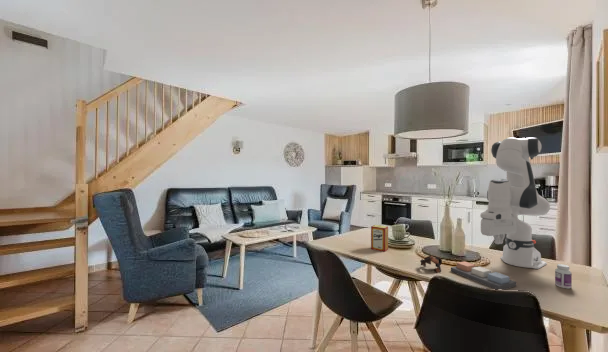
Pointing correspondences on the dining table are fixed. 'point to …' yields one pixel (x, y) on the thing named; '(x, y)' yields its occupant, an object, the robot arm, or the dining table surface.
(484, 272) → the cream button
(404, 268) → the dining table surface
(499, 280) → the slate button
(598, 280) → the dining table surface
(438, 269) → the brown black arched toy
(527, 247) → the robot arm
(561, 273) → the pill bottle
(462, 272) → the button panel
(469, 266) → the terracotta button
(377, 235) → the baking soda box
